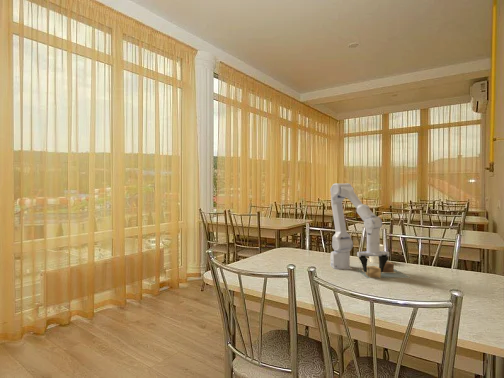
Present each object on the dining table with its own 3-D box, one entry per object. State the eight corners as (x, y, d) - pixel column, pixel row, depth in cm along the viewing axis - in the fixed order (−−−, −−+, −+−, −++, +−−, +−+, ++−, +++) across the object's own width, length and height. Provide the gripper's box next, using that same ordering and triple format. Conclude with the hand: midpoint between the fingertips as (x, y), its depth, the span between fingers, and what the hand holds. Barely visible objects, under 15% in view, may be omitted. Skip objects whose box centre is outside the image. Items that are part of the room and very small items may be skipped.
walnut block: (383, 272, 158) (383, 264, 158) (379, 269, 163) (379, 261, 163) (393, 272, 158) (393, 264, 158) (388, 269, 163) (388, 261, 163)
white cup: (381, 261, 183) (381, 243, 183) (385, 264, 175) (385, 246, 175) (366, 261, 184) (366, 243, 184) (370, 264, 176) (370, 246, 176)
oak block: (369, 277, 150) (369, 268, 150) (365, 274, 155) (365, 266, 155) (380, 277, 150) (380, 268, 150) (376, 274, 155) (376, 266, 155)
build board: (367, 279, 149) (367, 278, 149) (355, 270, 164) (355, 269, 164) (410, 278, 149) (410, 277, 149) (394, 270, 164) (394, 268, 164)
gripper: (361, 244, 148) (361, 274, 148) (392, 244, 148) (392, 273, 148) (355, 241, 155) (355, 270, 155) (385, 241, 155) (385, 269, 156)
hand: (373, 271), depth 152 cm, fingers open, 7 cm apart
